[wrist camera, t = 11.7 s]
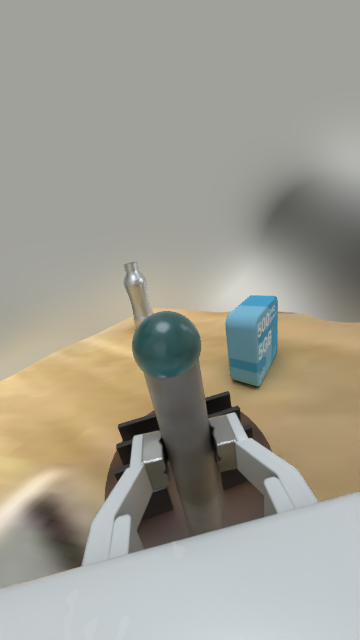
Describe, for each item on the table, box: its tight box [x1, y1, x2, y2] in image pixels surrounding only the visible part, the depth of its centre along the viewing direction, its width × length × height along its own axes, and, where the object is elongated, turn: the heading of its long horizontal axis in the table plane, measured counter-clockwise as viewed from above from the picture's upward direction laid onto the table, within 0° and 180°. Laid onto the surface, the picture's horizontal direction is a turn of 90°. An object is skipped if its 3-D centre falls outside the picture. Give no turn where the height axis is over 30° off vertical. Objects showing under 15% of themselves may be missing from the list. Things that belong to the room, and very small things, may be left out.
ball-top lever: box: [105, 311, 272, 549], centre depth 18 cm, size 17×17×19 cm
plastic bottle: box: [124, 262, 154, 328], centre depth 60 cm, size 6×7×20 cm
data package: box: [226, 296, 278, 386], centre depth 34 cm, size 12×4×12 cm, turn 143°
